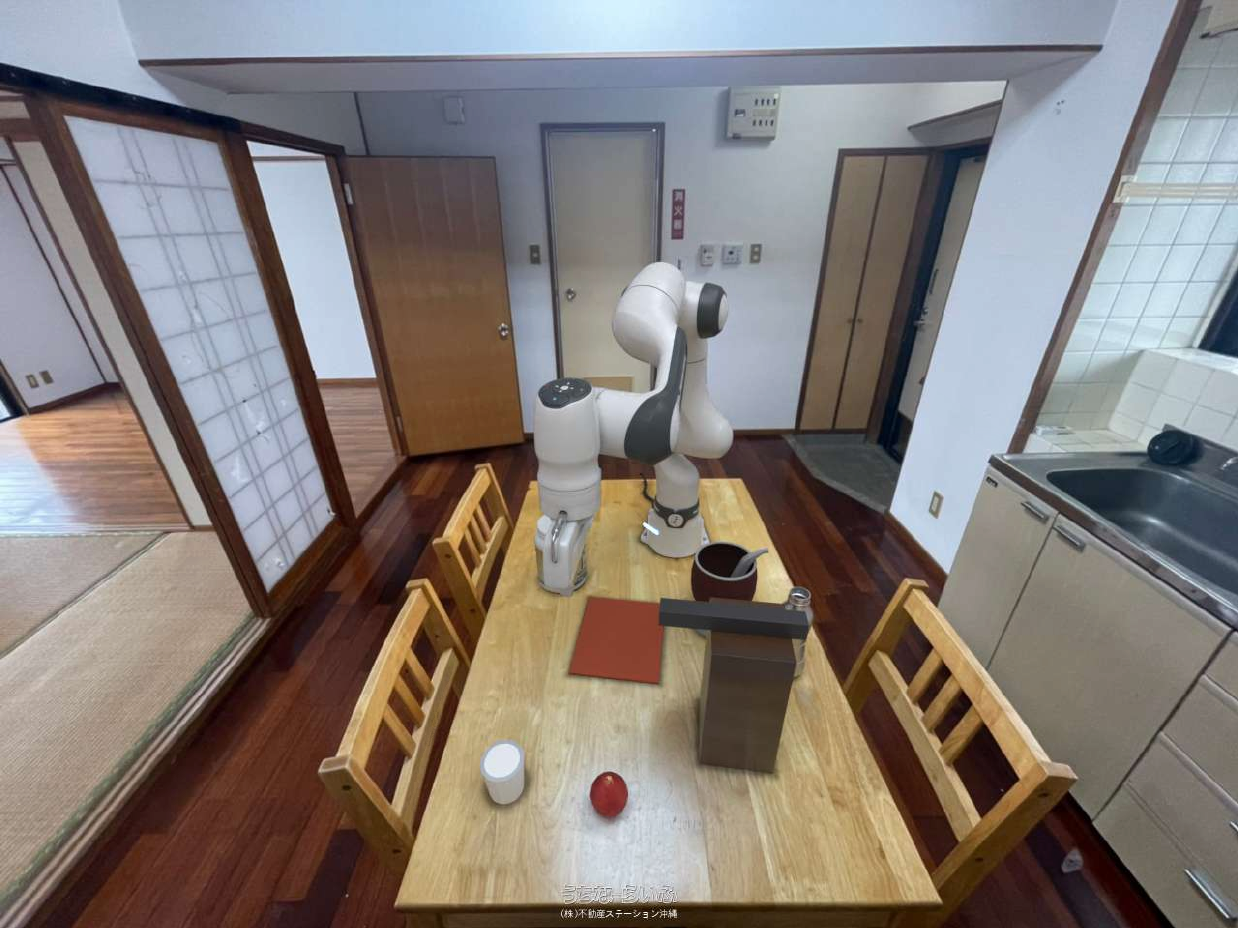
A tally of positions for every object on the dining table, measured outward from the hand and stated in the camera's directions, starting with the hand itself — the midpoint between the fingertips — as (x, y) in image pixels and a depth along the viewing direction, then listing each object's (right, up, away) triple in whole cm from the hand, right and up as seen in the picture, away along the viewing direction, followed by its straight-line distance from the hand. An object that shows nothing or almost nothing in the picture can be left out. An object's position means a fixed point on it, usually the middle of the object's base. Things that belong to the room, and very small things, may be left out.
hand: (574, 572), depth 79 cm
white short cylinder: (-11, -36, +5) cm, 38 cm away
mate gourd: (+30, -19, +37) cm, 51 cm away
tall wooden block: (+27, -31, +12) cm, 43 cm away
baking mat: (+7, -21, +33) cm, 39 cm away
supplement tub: (-7, -12, +50) cm, 52 cm away
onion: (+5, -37, +2) cm, 38 cm away
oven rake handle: (+24, -8, 0) cm, 26 cm away
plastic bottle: (+40, -25, +25) cm, 54 cm away
